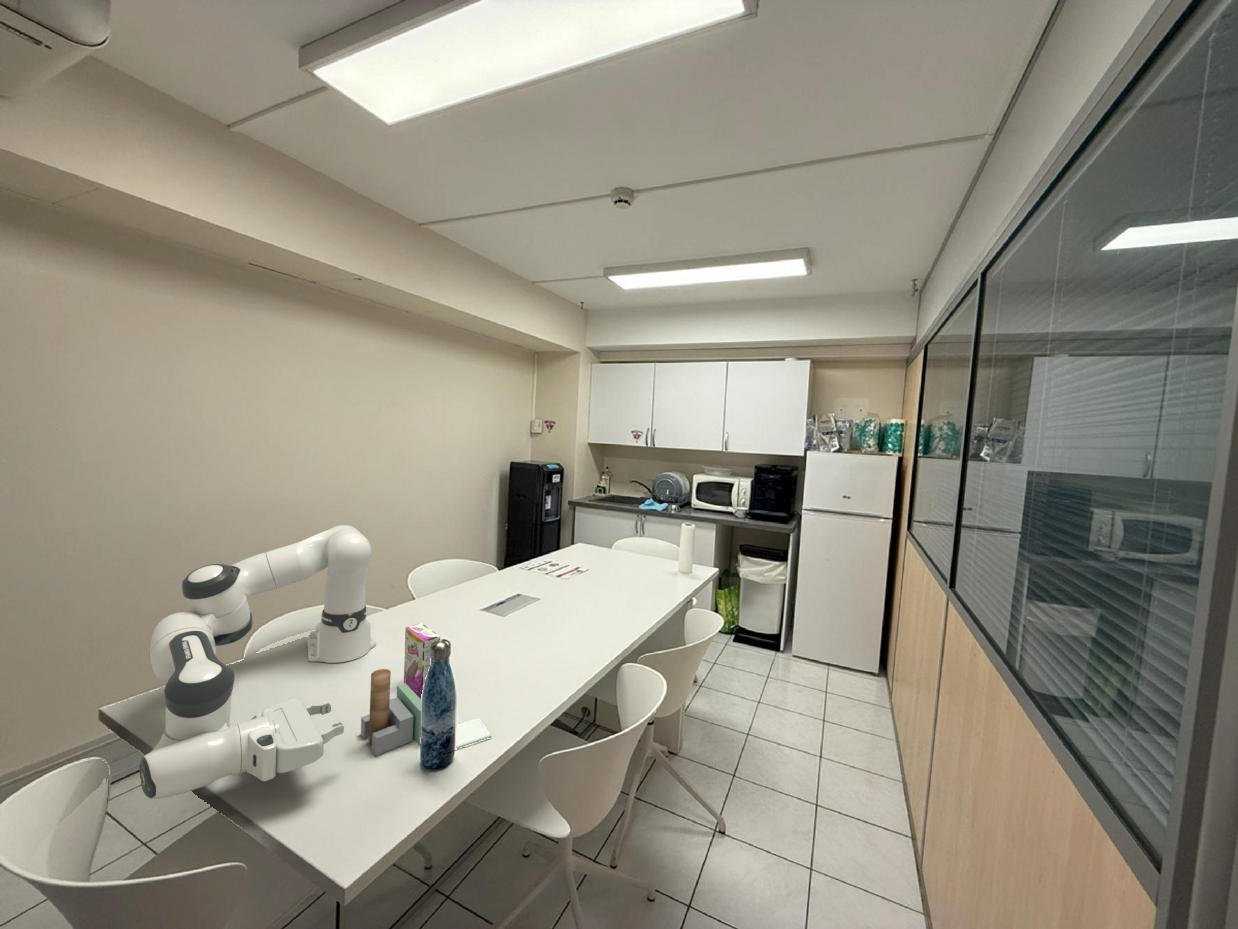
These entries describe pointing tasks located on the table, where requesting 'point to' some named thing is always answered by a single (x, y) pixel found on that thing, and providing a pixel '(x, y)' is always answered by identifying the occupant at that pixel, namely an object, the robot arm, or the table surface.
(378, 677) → the dowel
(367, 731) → the block
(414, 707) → the wall
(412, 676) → the candy bar box
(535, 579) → the table surface
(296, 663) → the table surface
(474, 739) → the external hard drive
